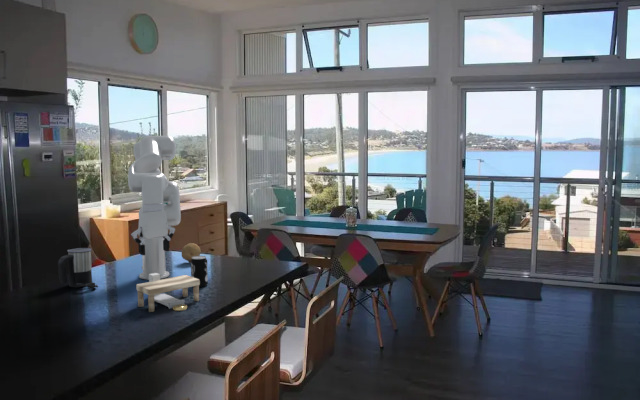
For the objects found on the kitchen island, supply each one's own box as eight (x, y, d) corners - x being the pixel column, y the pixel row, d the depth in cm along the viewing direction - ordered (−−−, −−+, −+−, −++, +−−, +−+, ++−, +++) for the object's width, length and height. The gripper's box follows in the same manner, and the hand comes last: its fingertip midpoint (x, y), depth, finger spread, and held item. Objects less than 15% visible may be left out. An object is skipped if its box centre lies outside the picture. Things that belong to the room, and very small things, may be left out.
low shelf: (137, 306, 194) (136, 284, 194) (186, 295, 208) (185, 274, 208) (150, 312, 187) (149, 289, 186) (200, 300, 201) (199, 279, 200)
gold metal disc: (170, 309, 192) (170, 306, 192) (183, 306, 195) (183, 303, 195) (176, 312, 188) (176, 309, 188) (189, 309, 191) (189, 306, 191)
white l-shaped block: (145, 298, 204) (145, 274, 203) (160, 294, 209) (159, 272, 208) (169, 308, 192) (168, 283, 191) (184, 305, 196) (184, 280, 195)
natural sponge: (192, 266, 256) (192, 245, 255) (177, 264, 260) (177, 244, 259) (204, 262, 264) (203, 242, 263) (189, 260, 268) (189, 240, 267)
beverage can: (203, 288, 218) (203, 259, 217) (188, 287, 219) (188, 258, 218) (210, 284, 224) (209, 255, 223) (195, 283, 226) (194, 255, 224)
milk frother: (78, 281, 229) (77, 247, 227) (111, 283, 225) (110, 248, 223) (55, 290, 215) (53, 253, 213) (90, 293, 211) (88, 255, 210)
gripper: (168, 204, 210) (170, 247, 212) (126, 209, 198) (128, 254, 200) (178, 206, 205) (180, 250, 207) (135, 211, 193) (137, 258, 195)
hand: (154, 252), depth 203 cm, fingers open, 9 cm apart
